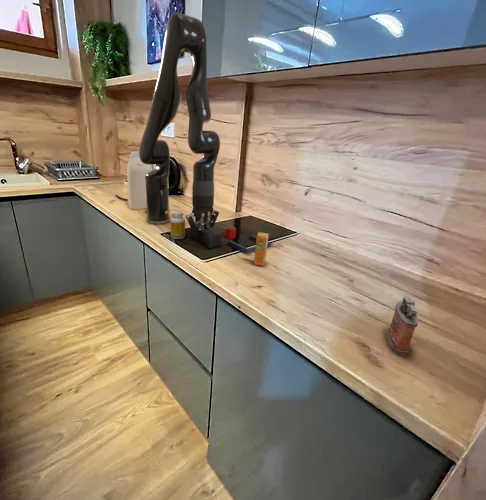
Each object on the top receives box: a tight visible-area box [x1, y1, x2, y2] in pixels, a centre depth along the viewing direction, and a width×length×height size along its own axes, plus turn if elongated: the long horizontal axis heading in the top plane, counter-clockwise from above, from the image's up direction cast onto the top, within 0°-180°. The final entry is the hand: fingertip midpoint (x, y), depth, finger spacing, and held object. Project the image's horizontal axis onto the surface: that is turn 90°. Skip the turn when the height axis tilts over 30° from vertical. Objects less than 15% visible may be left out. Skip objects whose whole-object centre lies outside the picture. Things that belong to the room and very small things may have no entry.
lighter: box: [386, 295, 419, 356], centre depth 62 cm, size 8×3×10 cm, turn 163°
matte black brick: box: [190, 226, 222, 249], centre depth 110 cm, size 14×5×4 cm, turn 39°
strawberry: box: [224, 226, 237, 240], centre depth 117 cm, size 4×4×4 cm
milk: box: [126, 151, 153, 210], centre depth 149 cm, size 12×12×26 cm
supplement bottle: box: [169, 210, 186, 240], centre depth 113 cm, size 5×5×10 cm
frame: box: [227, 234, 272, 255], centre depth 110 cm, size 10×12×2 cm
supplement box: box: [253, 231, 270, 267], centre depth 94 cm, size 3×3×10 cm
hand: (202, 238), depth 112 cm, fingers closed on matte black brick, 2 cm apart
